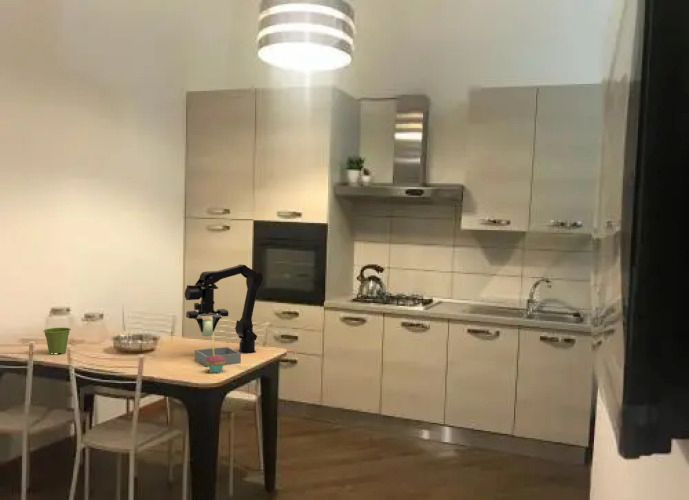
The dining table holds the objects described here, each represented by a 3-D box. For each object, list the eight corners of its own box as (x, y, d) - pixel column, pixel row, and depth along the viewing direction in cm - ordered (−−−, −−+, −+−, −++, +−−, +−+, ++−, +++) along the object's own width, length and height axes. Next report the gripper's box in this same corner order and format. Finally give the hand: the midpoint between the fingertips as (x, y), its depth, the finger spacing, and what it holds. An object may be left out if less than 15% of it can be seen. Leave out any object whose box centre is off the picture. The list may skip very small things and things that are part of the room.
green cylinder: (210, 333, 295) (210, 319, 295) (214, 335, 291) (214, 320, 290) (200, 334, 292) (200, 319, 292) (203, 336, 288) (203, 321, 288)
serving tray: (227, 356, 295) (228, 346, 295) (240, 363, 281) (240, 353, 281) (194, 359, 287) (194, 350, 286) (206, 367, 273) (206, 356, 273)
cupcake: (215, 374, 260) (216, 346, 259) (201, 371, 264) (201, 343, 264) (230, 370, 267) (230, 343, 267) (215, 368, 272) (215, 340, 271)
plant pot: (45, 351, 299) (45, 327, 298) (72, 350, 302) (72, 327, 301) (41, 356, 287) (41, 332, 287) (68, 355, 291) (68, 331, 290)
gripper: (221, 295, 302) (221, 327, 303) (182, 297, 293) (182, 330, 294) (228, 298, 293) (228, 331, 293) (189, 300, 283) (189, 334, 284)
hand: (207, 331), depth 291 cm, fingers closed on green cylinder, 5 cm apart
